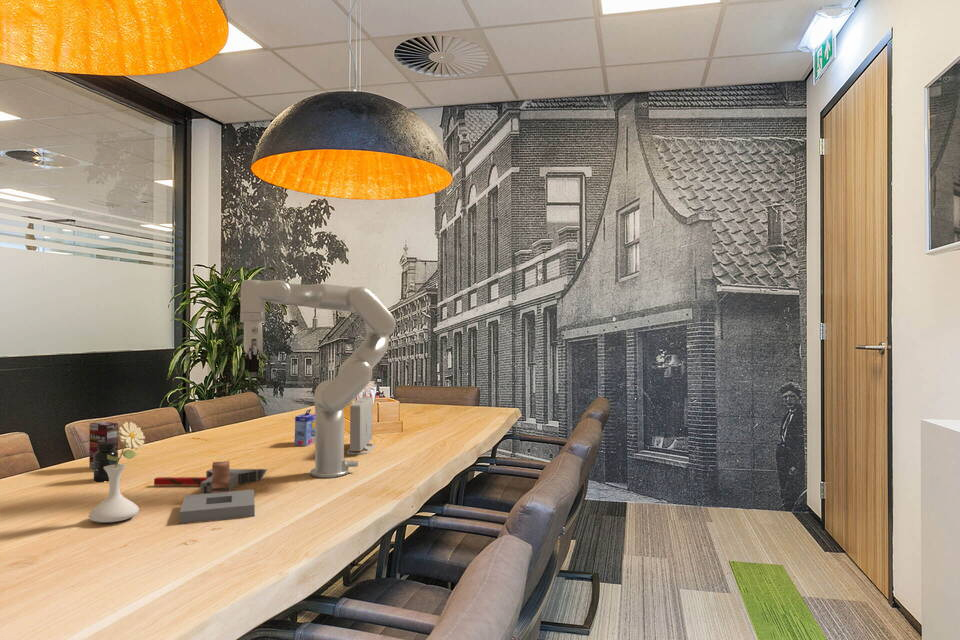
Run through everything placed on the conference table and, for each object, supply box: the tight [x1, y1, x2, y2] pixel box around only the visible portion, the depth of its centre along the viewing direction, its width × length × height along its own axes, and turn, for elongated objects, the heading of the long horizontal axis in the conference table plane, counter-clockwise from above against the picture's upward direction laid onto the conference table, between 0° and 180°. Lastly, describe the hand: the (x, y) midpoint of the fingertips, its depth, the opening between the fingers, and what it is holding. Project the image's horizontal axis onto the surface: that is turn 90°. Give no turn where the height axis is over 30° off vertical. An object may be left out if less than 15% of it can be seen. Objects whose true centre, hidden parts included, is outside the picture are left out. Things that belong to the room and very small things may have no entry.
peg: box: [211, 460, 230, 493], centre depth 182 cm, size 5×5×10 cm
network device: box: [345, 396, 376, 456], centre depth 250 cm, size 26×9×20 cm, turn 179°
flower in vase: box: [88, 421, 146, 524], centre depth 162 cm, size 13×11×25 cm
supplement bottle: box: [93, 442, 119, 483], centre depth 201 cm, size 7×7×12 cm
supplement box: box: [88, 421, 119, 469], centre depth 217 cm, size 9×5×16 cm, turn 68°
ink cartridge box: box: [293, 408, 315, 447], centre depth 261 cm, size 10×6×14 cm, turn 171°
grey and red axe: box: [153, 468, 268, 494], centre depth 197 cm, size 24×4×30 cm
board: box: [179, 489, 256, 524], centre depth 169 cm, size 18×16×3 cm
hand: (251, 371), depth 201 cm, fingers open, 9 cm apart
